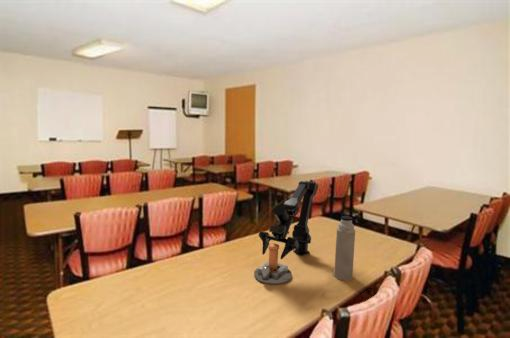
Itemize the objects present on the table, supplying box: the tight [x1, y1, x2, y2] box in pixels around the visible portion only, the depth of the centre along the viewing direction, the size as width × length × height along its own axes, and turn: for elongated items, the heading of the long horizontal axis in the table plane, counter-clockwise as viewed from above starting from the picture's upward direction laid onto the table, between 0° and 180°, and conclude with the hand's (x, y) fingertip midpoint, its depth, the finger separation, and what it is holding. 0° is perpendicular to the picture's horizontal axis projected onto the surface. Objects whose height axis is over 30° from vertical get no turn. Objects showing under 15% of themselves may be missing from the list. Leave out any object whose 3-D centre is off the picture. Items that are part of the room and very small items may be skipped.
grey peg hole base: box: [253, 260, 293, 286], centre depth 146 cm, size 17×17×6 cm
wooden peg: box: [267, 243, 280, 271], centre depth 145 cm, size 5×5×13 cm
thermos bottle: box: [333, 215, 356, 282], centre depth 144 cm, size 8×8×28 cm
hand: (271, 256), depth 144 cm, fingers open, 9 cm apart
